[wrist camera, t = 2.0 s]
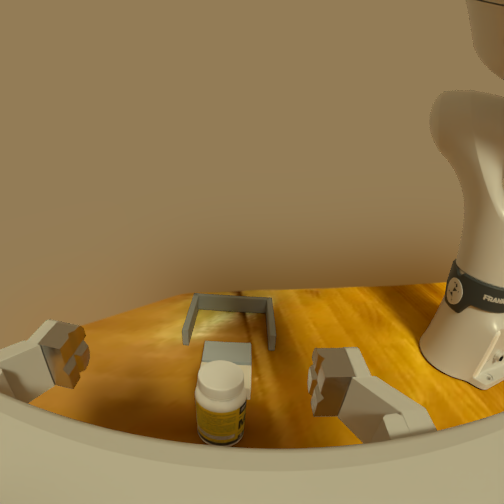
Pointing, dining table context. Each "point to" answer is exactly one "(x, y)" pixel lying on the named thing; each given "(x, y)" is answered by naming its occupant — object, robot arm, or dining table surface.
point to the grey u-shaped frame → (230, 305)
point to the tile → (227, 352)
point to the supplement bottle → (220, 403)
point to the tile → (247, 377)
